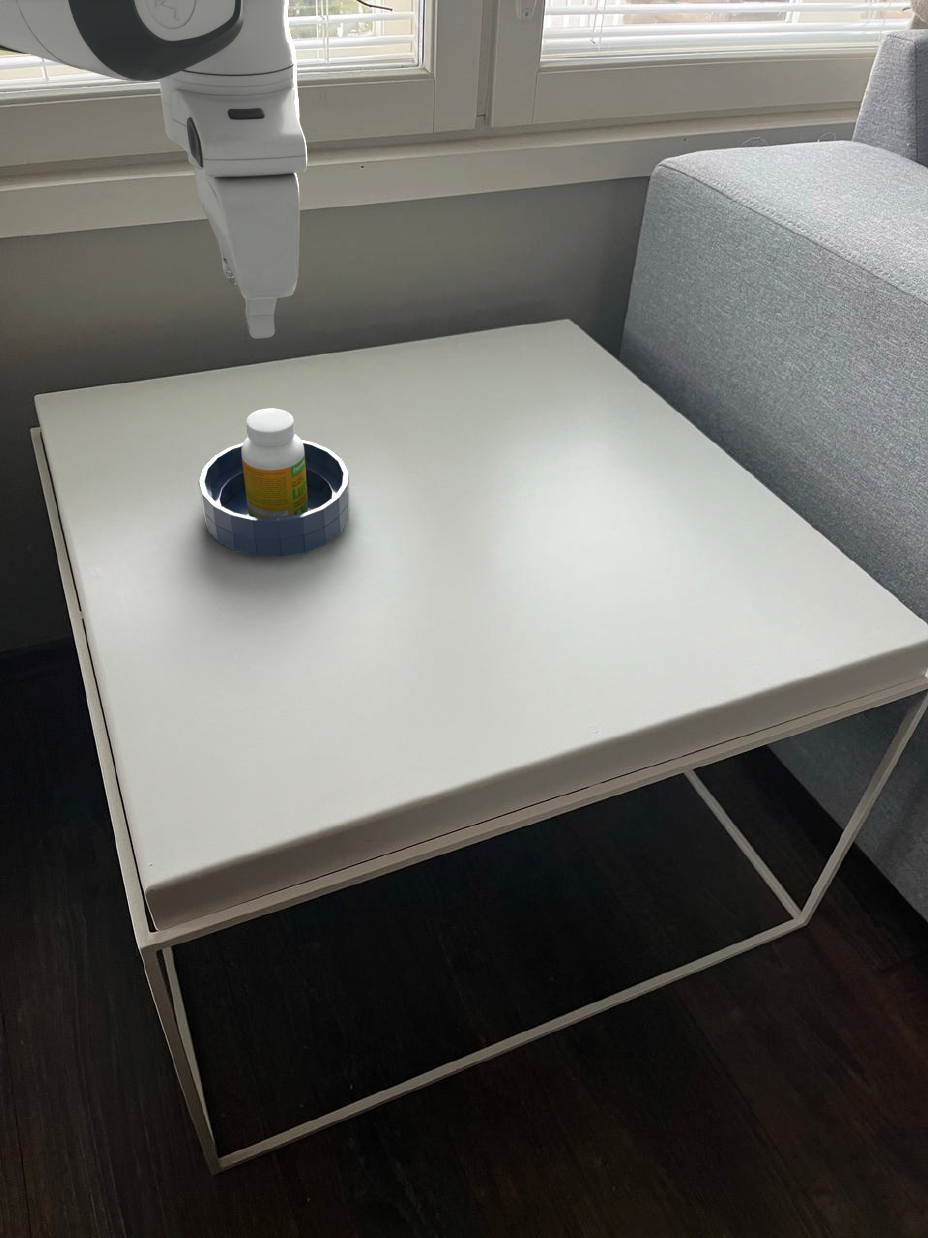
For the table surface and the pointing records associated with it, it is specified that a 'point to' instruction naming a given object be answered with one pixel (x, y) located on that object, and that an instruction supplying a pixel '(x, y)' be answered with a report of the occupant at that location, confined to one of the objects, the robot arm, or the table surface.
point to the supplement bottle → (274, 466)
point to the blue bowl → (275, 535)
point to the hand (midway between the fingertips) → (248, 306)
